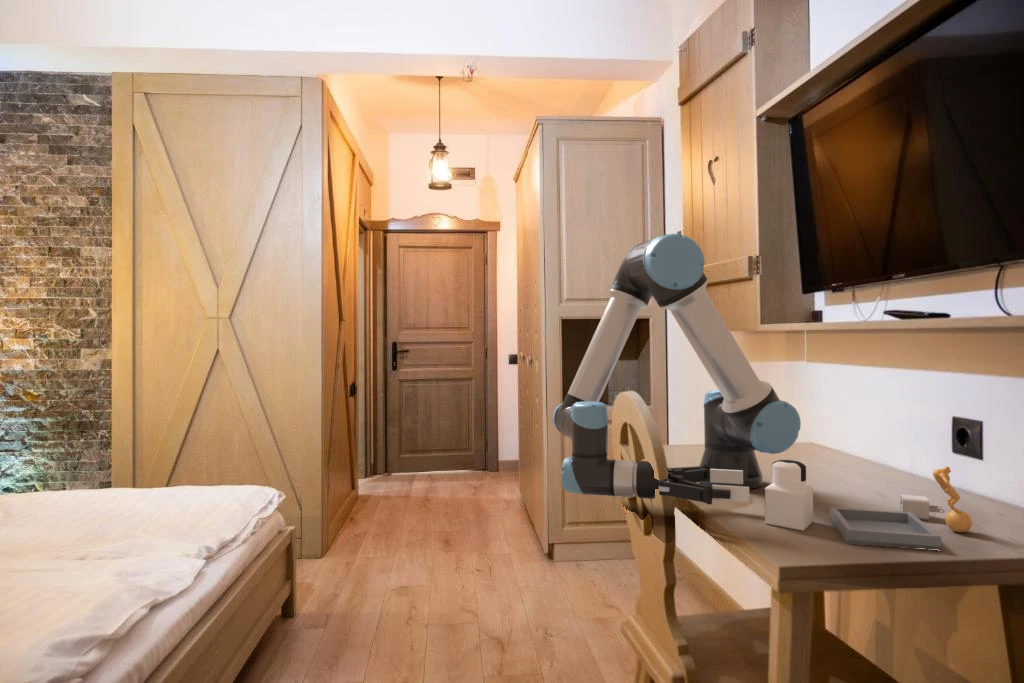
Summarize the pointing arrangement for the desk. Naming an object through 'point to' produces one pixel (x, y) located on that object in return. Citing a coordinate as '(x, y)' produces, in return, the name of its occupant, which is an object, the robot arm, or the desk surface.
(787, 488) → the medicine bottle
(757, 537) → the desk surface
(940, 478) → the figurine
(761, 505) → the desk surface
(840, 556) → the desk surface
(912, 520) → the tray
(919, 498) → the usb wall charger
